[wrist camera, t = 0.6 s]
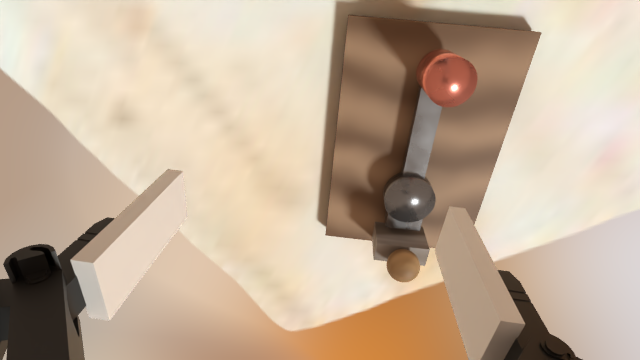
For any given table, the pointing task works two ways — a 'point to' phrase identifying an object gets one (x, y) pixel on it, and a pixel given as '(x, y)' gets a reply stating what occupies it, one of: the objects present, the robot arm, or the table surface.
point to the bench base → (395, 121)
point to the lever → (426, 136)
